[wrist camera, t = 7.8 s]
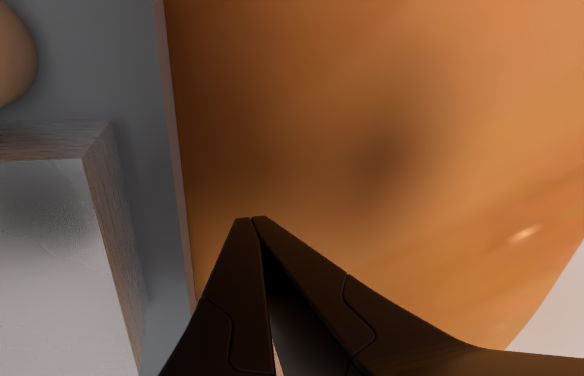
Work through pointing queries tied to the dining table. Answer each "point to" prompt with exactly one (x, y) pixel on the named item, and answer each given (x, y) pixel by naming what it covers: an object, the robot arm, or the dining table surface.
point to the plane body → (126, 124)
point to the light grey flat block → (67, 253)
